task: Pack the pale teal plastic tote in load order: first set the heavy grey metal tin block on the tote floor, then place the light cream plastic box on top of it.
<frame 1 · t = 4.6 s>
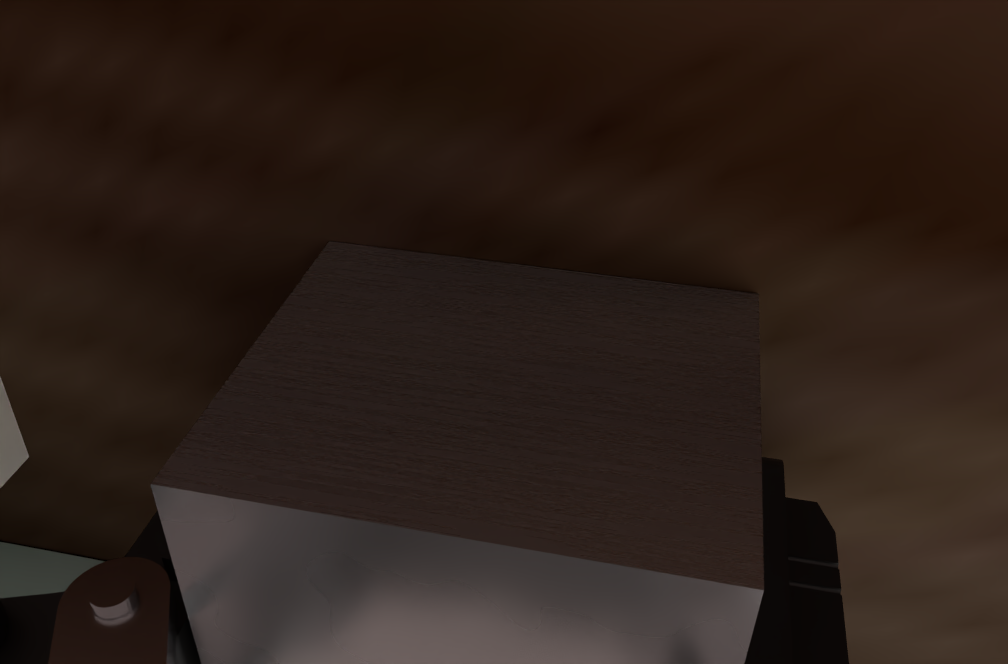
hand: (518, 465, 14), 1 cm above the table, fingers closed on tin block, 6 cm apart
tin block: (529, 430, 15), on the table, touching gripper
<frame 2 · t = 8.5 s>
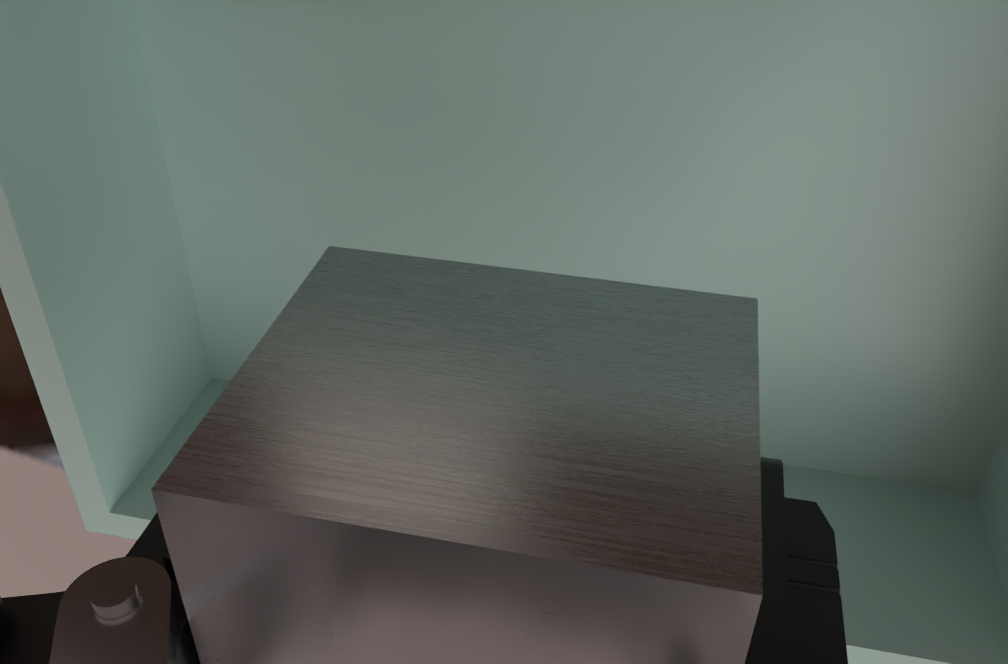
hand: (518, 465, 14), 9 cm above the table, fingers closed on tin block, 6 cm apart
tote: (588, 192, 21), on the table
tin block: (529, 434, 15), point 8 cm above the table, touching gripper
when the fingers open (2 cm above the table, at t = 10.3 s): tin block stays where it is, resting on tote.
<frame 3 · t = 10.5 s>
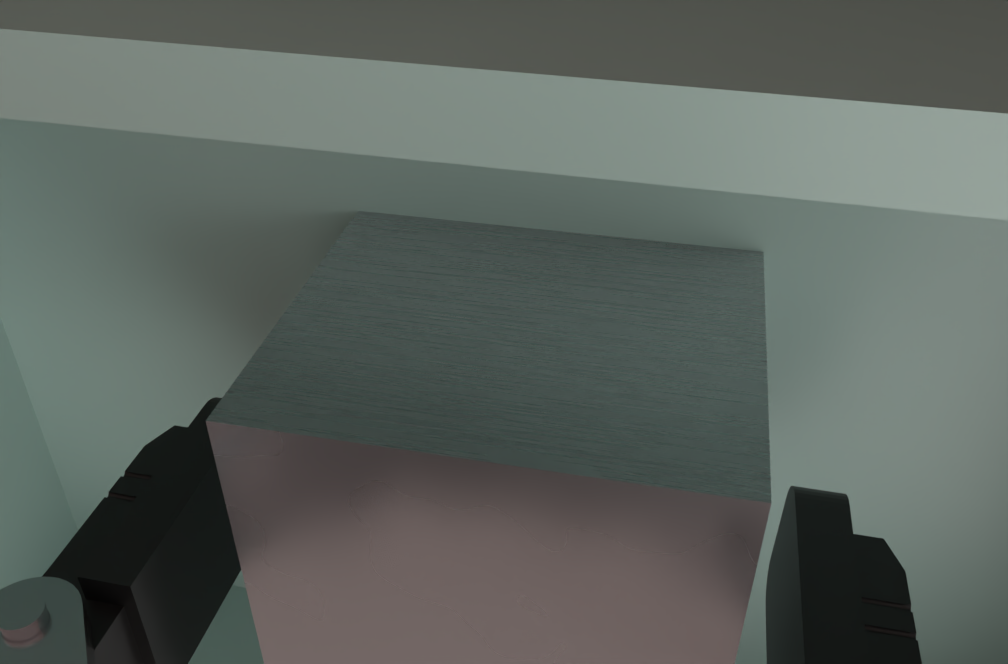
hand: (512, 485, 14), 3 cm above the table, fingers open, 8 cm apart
tote: (546, 365, 16), on the table
tin block: (547, 390, 15), point 1 cm above the table, touching tote
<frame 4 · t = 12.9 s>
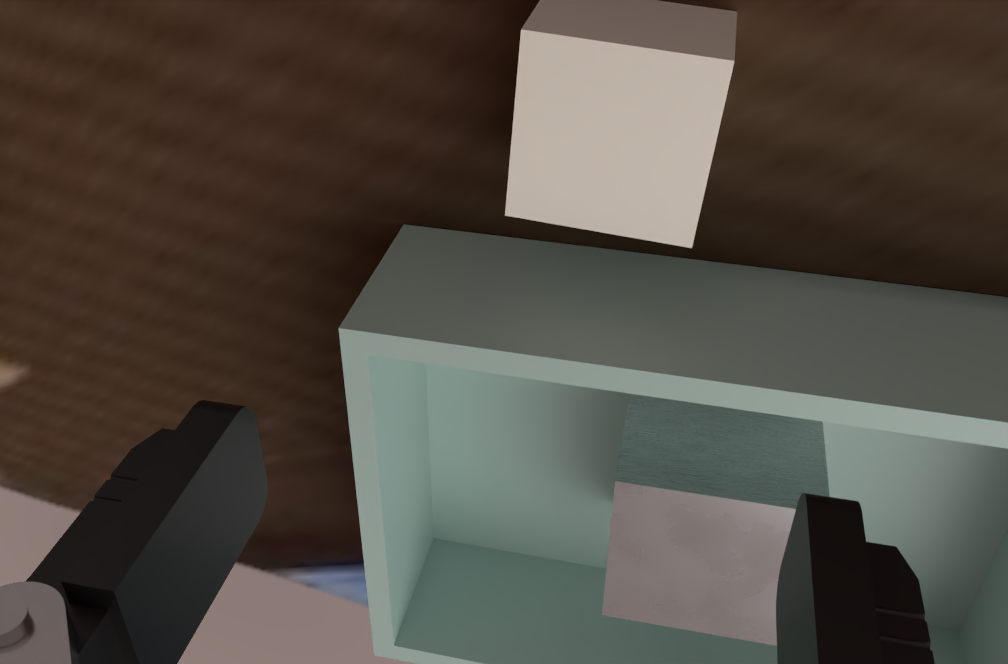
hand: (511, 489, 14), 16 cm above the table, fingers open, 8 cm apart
cream box: (628, 86, 26), on the table
tote: (708, 443, 33), on the table
tin block: (712, 457, 32), point 1 cm above the table, touching tote
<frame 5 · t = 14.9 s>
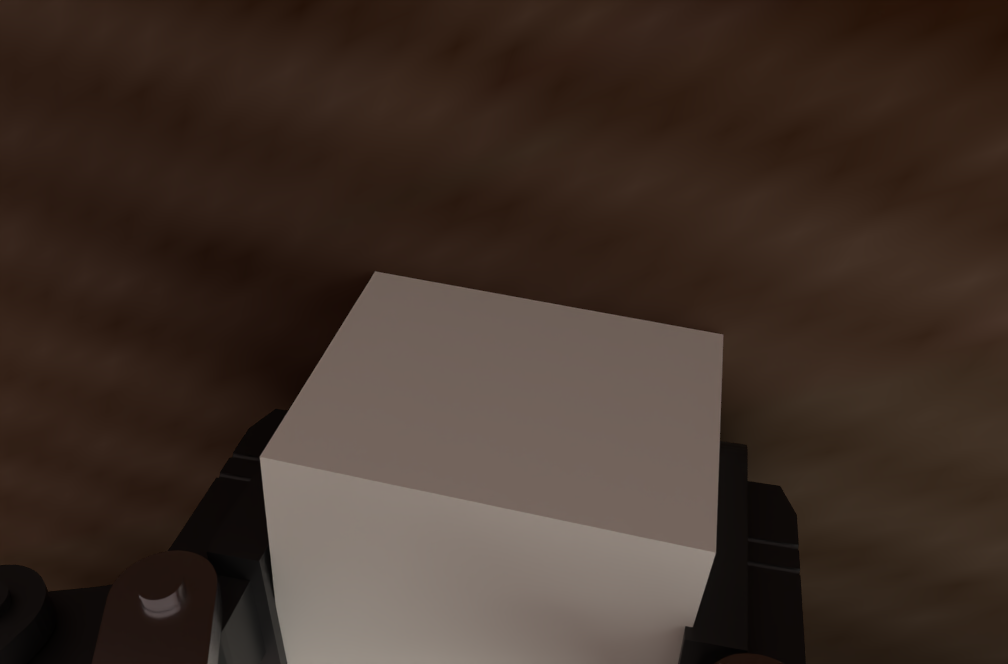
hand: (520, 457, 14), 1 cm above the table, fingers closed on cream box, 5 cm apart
cream box: (529, 433, 15), on the table, touching gripper
when the fingers open (7 cm above the table, at t = 19.3 s): cream box stays where it is, resting on tin block.
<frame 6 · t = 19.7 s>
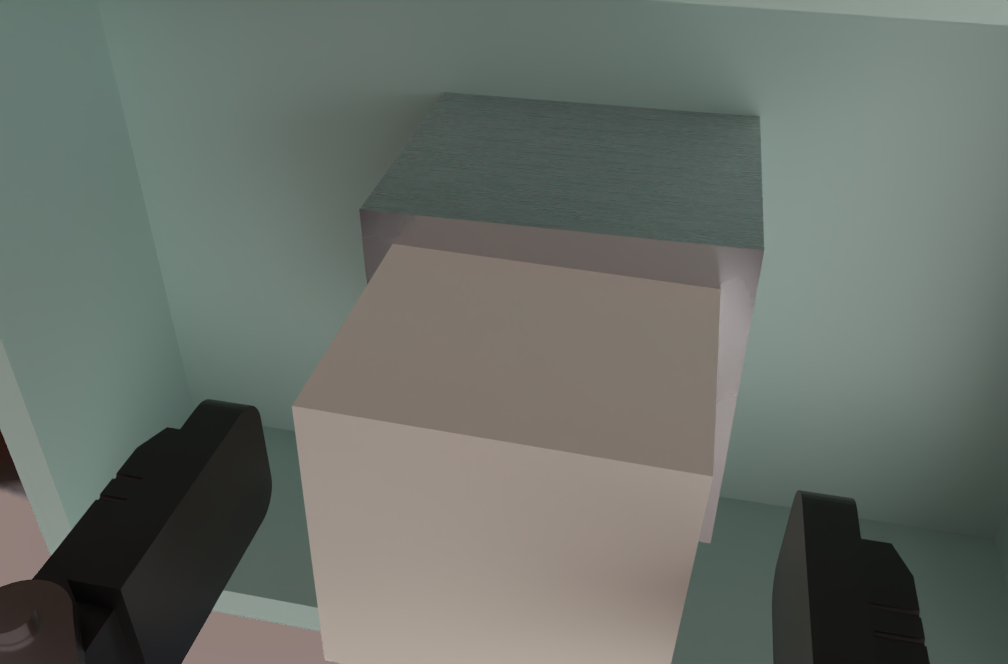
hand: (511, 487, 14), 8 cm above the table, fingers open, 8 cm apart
cream box: (542, 394, 15), point 6 cm above the table, touching tin block
tote: (586, 227, 20), on the table
tin block: (589, 242, 19), point 1 cm above the table, touching cream box, tote
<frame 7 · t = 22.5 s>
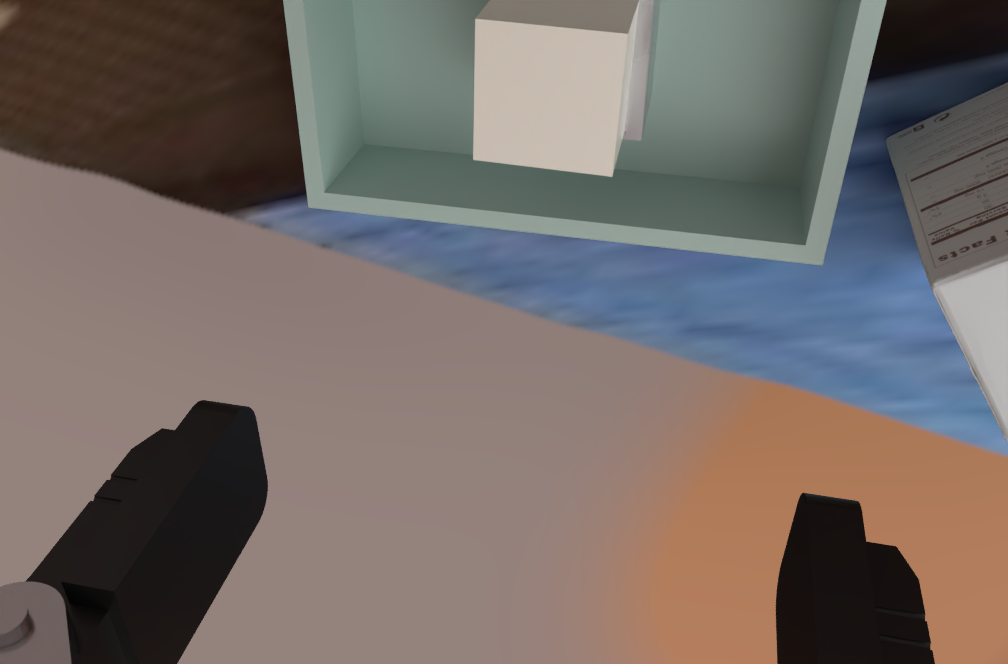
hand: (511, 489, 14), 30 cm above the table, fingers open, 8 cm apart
cream box: (564, 61, 35), point 6 cm above the table, touching tin block
tote: (584, 15, 39), on the table
supplement box: (999, 164, 40), on the table
tin block: (585, 18, 39), point 1 cm above the table, touching cream box, tote
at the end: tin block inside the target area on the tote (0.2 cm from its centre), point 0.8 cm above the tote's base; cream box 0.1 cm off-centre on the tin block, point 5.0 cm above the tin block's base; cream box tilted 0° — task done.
